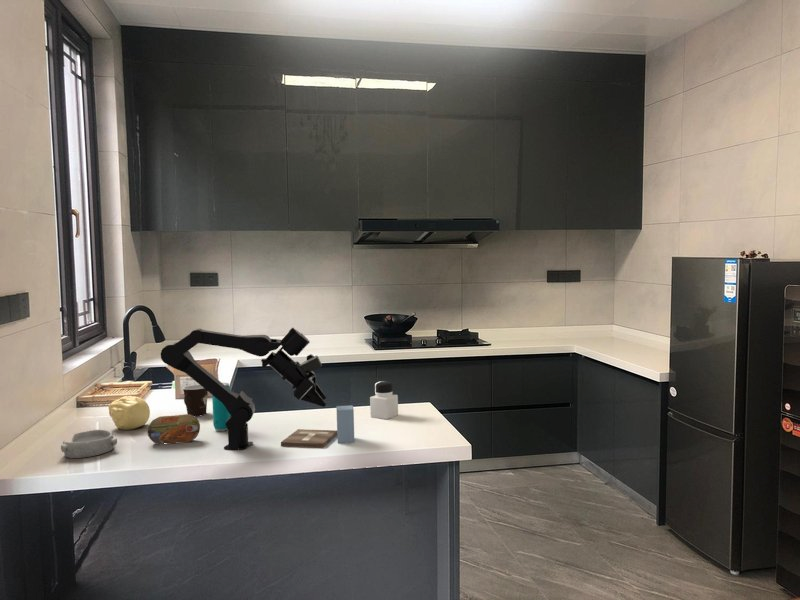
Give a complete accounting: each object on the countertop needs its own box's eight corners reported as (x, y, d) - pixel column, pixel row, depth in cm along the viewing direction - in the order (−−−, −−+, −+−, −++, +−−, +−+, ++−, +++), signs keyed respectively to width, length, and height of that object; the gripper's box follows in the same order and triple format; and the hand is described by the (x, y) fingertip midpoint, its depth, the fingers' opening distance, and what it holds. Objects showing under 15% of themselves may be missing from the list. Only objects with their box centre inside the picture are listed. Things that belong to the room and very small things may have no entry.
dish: (60, 462, 172) (59, 445, 172) (65, 449, 185) (64, 432, 184) (117, 455, 178) (116, 437, 177) (118, 442, 190) (117, 426, 190)
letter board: (323, 447, 179) (322, 443, 179) (281, 446, 182) (280, 441, 182) (337, 434, 193) (337, 430, 193) (298, 432, 195) (298, 429, 195)
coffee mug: (199, 410, 229) (198, 383, 229) (214, 413, 224) (213, 386, 224) (172, 417, 220) (170, 389, 219) (186, 420, 215) (185, 392, 214)
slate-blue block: (337, 443, 183) (336, 410, 183) (337, 438, 188) (336, 406, 188) (354, 442, 184) (353, 409, 183) (353, 437, 189) (352, 405, 188)
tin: (148, 445, 186) (146, 418, 185) (150, 442, 189) (148, 415, 188) (200, 441, 189) (198, 414, 188) (201, 438, 192) (200, 412, 191)
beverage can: (225, 426, 206) (223, 381, 205) (235, 428, 202) (233, 383, 201) (210, 430, 201) (208, 384, 200) (220, 432, 198) (218, 386, 197)
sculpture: (104, 430, 205) (102, 398, 204) (134, 421, 215) (132, 390, 215) (127, 433, 200) (125, 400, 199) (157, 424, 210) (155, 393, 209)
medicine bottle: (398, 415, 215) (397, 381, 215) (387, 419, 209) (386, 384, 209) (381, 412, 219) (380, 379, 218) (370, 417, 213) (369, 383, 212)
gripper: (303, 351, 174) (344, 388, 176) (306, 343, 192) (342, 376, 194) (276, 380, 173) (317, 417, 175) (281, 369, 192) (318, 402, 194)
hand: (325, 402), depth 185 cm, fingers open, 9 cm apart
